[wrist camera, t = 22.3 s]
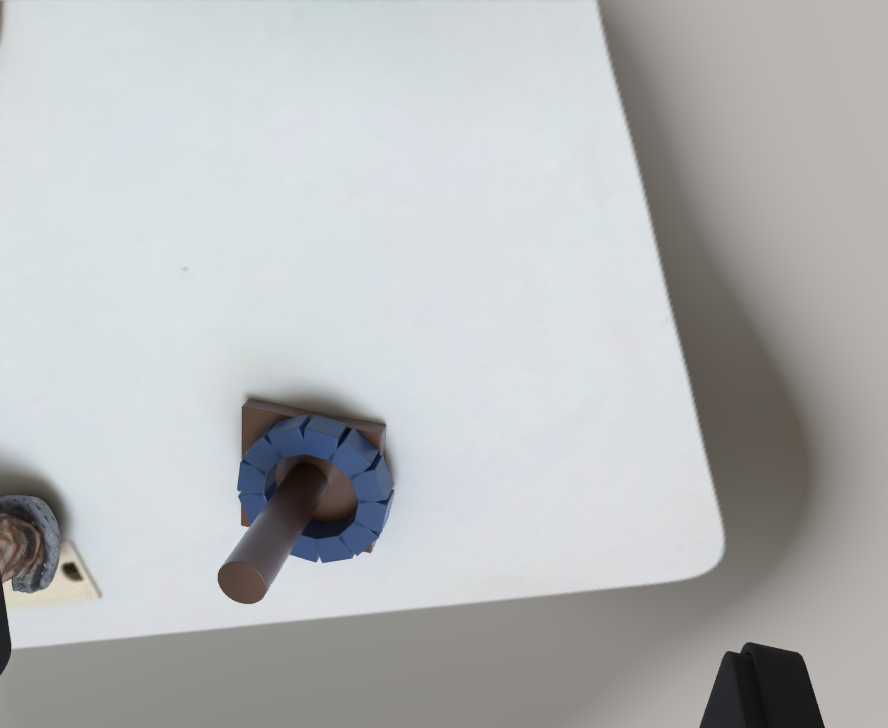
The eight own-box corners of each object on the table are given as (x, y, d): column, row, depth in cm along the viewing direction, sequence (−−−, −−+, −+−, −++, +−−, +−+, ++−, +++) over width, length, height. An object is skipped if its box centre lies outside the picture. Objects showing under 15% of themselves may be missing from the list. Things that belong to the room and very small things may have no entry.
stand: (386, 425, 44) (329, 530, 35) (375, 543, 47) (320, 667, 38) (248, 398, 45) (157, 493, 36) (247, 516, 48) (163, 630, 39)
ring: (362, 401, 42) (354, 415, 41) (412, 533, 45) (406, 550, 44) (227, 431, 45) (214, 445, 43) (282, 554, 47) (271, 571, 46)
